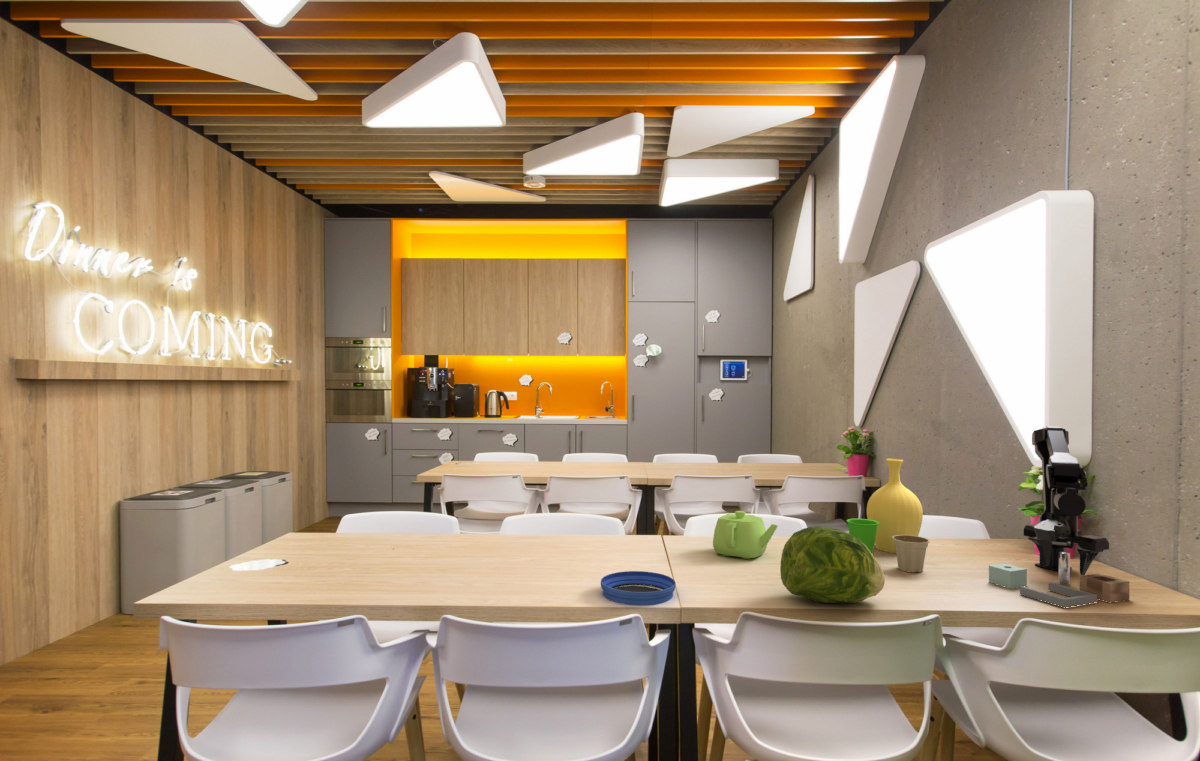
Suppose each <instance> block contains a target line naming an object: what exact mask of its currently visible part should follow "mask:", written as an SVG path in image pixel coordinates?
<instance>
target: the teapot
mask: <svg viewBox="0 0 1200 761" xmlns="http://www.w3.org/2000/svg"><path fill="white" fill-rule="evenodd" d="M746 513H747V512H746V511H744V510H736V511H734V513H728V514H724V515H722V516H720V517H718V518H717V521H716V524H715V527H714V531H713V540H712V547H713V550H714V552H715V553H716V554H721V555H722V556H723V557H737V558H738V557H739V558H741V559H743V560H751V559H754V558H758V557H760V556H761V555H763V554H764V553H765V552H766V550H767V547H768V544H769V542H770V540H771V539H772V537H773V535H774V533H775V532H776V530H777V529H778V527H779V525H777V524H774V523H771V524H770V526H769V527H768V528H767V529H766V526H765V523H764V520H763V518H762V517H760V516H755V514H747V515H746Z"/></svg>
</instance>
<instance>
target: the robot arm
mask: <svg viewBox="0 0 1200 761" xmlns="http://www.w3.org/2000/svg"><path fill="white" fill-rule="evenodd" d="M1069 435H1070V434H1069V431H1068V430H1066V427H1063V426H1047V425H1046V426H1044V427H1042V428H1040V429H1036V430H1034V431H1033V432H1032V434H1031V443H1032V444H1031V446H1034V453H1035V454H1036V455H1037V456H1038V458H1039V459H1040V460H1041V469H1042V473H1041V474H1042V490H1043V491H1042V493H1043V512H1042V513H1041V514H1040V516H1039V518H1038V519H1037V523H1035V524H1034V523H1033V524H1027V525H1026V524H1025V526H1024V527H1023V530H1022V535H1023V536H1025V537H1027V539H1028V540H1029V541H1031V542H1032V543H1034V544H1035V546H1036V548H1037V550H1038V552H1039V562H1036V563H1034V566H1036V567H1040V568H1044V569H1047V570H1051V571H1055V572H1056V571H1057V572H1059V552H1067V549H1074V548H1075V544H1077V546H1079V548H1076V551H1077V552H1078V553H1079V574H1080V576H1085V575H1086V573H1087V571H1088V570H1089V568H1090V567H1091V565H1092V563H1093V561H1094V559H1095V558H1096V557H1097V556H1098V555H1099V553H1103V552H1104V551H1105V550H1110V542H1109V540H1108V538H1106V537H1104V536H1099V535H1094V534H1089V535H1082V530H1079V529H1078V528H1079V525H1078V524H1079V523H1078V522H1079V520H1080V519H1082V514H1083V513H1084V512H1085V510H1086V507H1087V506H1086V501H1085V499H1084V498H1083V497H1082V496H1081V495H1080V494H1079V491H1086V489H1087V487H1088V480H1087V474H1086V471H1085V469H1084V467H1083V466H1082V465H1081V464H1080V462H1079V460H1078V458H1077V457H1075V456H1073V455H1071V453H1070V450H1069V445H1070V436H1069ZM1072 569H1073V567H1072V566H1070V570H1072Z"/></svg>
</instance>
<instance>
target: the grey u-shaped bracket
mask: <svg viewBox="0 0 1200 761" xmlns="http://www.w3.org/2000/svg"><path fill="white" fill-rule="evenodd" d="M1047 584H1048V586H1047V588H1048V589H1047V591H1048V590H1050V591H1049V592H1052V591H1053V593H1055V592H1057V593H1056V594H1058V593H1060V594H1059V595H1062V594H1064V595H1063V596H1065V595H1067V596H1066V597H1060V596H1057V595H1054V594H1050V593H1047V592H1044V591H1040V590H1037V589H1035V588H1030V587H1027V586H1025V587H1024V586H1021V587H1019V595H1020V594H1021V595H1020V596H1022V595H1024V596H1023V597H1025V596H1027V597H1026V598H1029V597H1031V598H1030V599H1032V598H1034V599H1033V600H1035V599H1039V600H1042V601H1046V602H1049V603H1052V604H1056V605H1059V606H1062V607H1065V608H1066V607H1071V606H1077V605H1083V604H1089V603H1094V602H1097V603H1098V600H1097V595H1096V594H1092V593H1088V592H1085V591H1081V590H1080V589H1077V588H1074V587H1070V586H1068V585H1061V584H1059V583H1056V582H1051V581H1050V582H1048V583H1047ZM1069 596H1071V597H1069ZM1042 601H1041V602H1042Z"/></svg>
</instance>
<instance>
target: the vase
mask: <svg viewBox="0 0 1200 761" xmlns="http://www.w3.org/2000/svg"><path fill="white" fill-rule="evenodd" d="M885 461H886V464H887V466H888V469H889V470H888V471H889V475H888V476H889V477H888V481H887V483H886V484H884V485H883V486H881V487H880V488H878V489H877V490H875V491H874V492H873V493H872V494H871V496H870V497H869V499H868V501H867V504H866V517H867V519H869V520H874V521H878V522H879V524H878V527H877V533H876V539H875V545H874V546H875V547H876V548H875V549H877V550H879V551H881V552H885V553H891V554H896V547H895V544H894V540H893V539H892V537H893V536H896V535H911V536H919V534H920V531H921V528H922V524H923V518H924V517H923V515H924V513H923V512H924V510H923V506H922V503H921V501H920V499H919V498H918V497H917V495H916V494H915V493H913V492H912V490H910V489H908V488H907V487H905V486H904V484H902V482H901V477H900V476H901V475H900V470H901V468H902V464H903V463H904V459H902V458H901V459H900V458H886V459H885Z"/></svg>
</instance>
